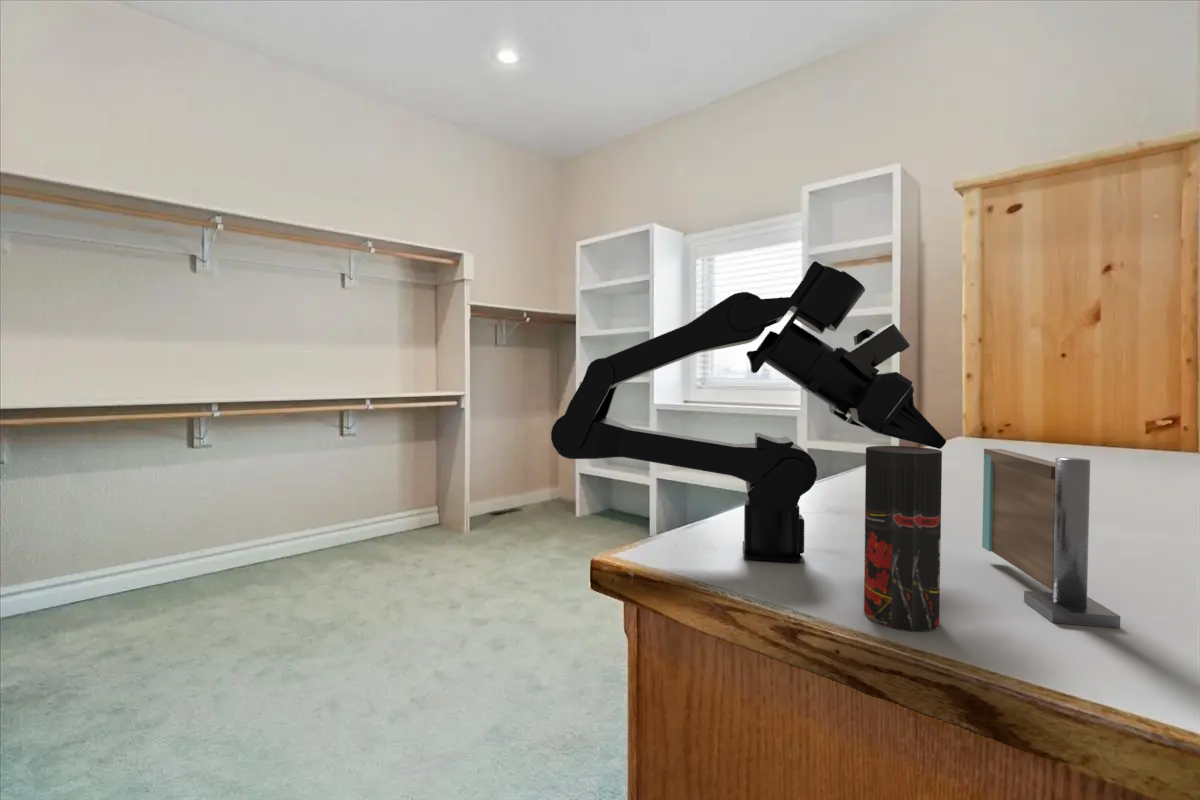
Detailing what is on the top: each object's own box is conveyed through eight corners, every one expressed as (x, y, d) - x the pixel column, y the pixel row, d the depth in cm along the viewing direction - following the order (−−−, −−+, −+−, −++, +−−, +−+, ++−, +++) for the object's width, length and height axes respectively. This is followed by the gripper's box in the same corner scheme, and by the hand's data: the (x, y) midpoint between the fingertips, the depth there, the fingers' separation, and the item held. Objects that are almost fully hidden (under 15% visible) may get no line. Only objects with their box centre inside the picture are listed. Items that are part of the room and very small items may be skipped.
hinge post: (1052, 622, 50) (1056, 462, 49) (1023, 601, 55) (1026, 454, 54) (1120, 627, 49) (1124, 463, 48) (1084, 605, 54) (1088, 456, 53)
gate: (1048, 590, 53) (1051, 466, 53) (982, 546, 68) (983, 448, 67) (1070, 591, 53) (1073, 466, 53) (999, 547, 67) (1001, 449, 67)
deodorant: (950, 634, 48) (953, 454, 47) (873, 628, 49) (875, 452, 48) (925, 606, 54) (927, 446, 53) (857, 602, 55) (858, 445, 54)
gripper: (873, 294, 58) (1015, 383, 55) (838, 315, 76) (944, 382, 74) (805, 385, 60) (940, 475, 57) (787, 384, 78) (889, 452, 75)
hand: (928, 440), depth 66 cm, fingers open, 9 cm apart
